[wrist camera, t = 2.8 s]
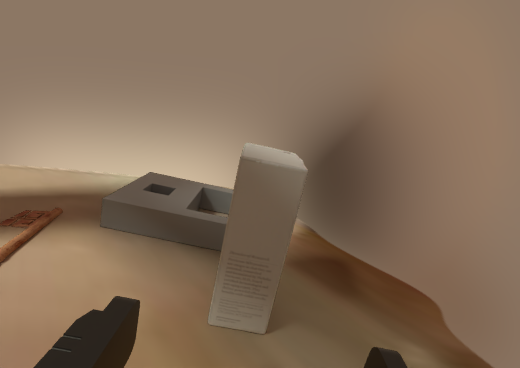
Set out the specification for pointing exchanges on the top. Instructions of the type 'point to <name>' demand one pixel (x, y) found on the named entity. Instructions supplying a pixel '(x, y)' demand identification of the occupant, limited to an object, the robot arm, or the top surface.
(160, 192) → the holder
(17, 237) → the key
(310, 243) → the top surface
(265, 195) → the skincare box
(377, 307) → the top surface
